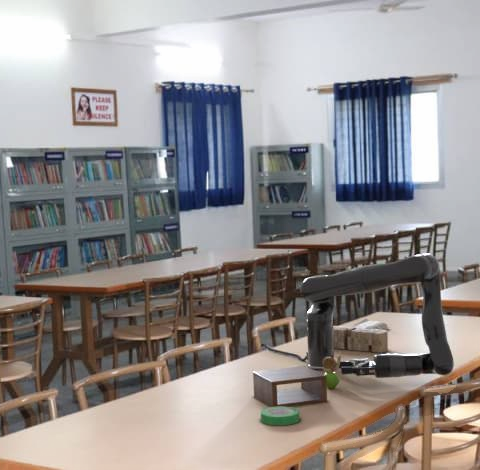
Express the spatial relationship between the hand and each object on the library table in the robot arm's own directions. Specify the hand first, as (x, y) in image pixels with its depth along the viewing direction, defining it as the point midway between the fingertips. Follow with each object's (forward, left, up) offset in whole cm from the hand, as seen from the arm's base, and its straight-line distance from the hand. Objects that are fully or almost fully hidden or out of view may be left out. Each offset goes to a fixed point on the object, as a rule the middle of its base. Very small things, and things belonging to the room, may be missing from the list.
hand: (339, 367), depth 305 cm
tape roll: (+27, -32, -7) cm, 43 cm away
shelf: (+6, -20, -7) cm, 22 cm away
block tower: (-56, +33, -7) cm, 65 cm away
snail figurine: (-1, -2, -7) cm, 7 cm away
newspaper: (-82, +49, -7) cm, 95 cm away
